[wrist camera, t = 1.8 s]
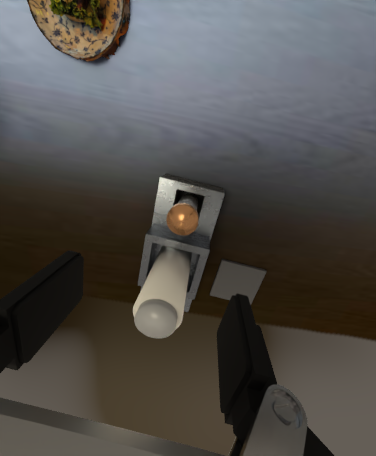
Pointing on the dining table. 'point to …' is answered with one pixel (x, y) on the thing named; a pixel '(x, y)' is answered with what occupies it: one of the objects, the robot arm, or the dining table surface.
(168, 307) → the cylinder
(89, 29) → the burger
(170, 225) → the plunger
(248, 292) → the mat
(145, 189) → the dining table surface
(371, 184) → the dining table surface
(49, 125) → the dining table surface
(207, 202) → the housing
